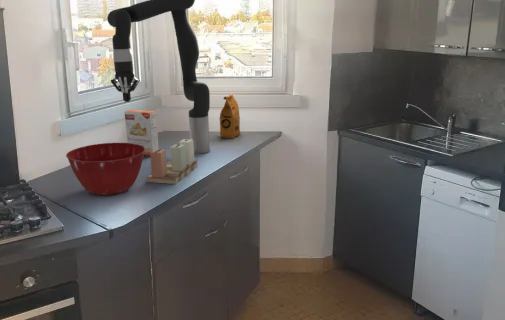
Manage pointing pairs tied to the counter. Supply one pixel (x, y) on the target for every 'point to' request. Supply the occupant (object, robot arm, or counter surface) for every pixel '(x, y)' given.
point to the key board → (173, 174)
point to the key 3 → (158, 163)
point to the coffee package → (230, 118)
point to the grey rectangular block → (188, 150)
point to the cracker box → (142, 129)
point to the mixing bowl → (107, 166)
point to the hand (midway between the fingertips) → (127, 101)
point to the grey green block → (178, 157)
